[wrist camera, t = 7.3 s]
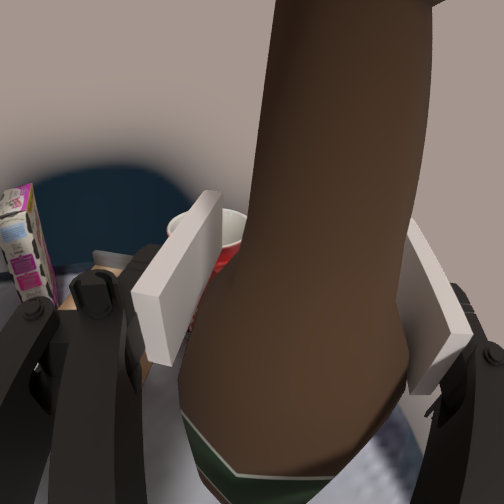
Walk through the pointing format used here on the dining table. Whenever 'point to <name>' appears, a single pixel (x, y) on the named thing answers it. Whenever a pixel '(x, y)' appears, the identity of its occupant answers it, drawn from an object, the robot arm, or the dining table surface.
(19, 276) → the candy bar box
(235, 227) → the mug
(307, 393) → the beer bottle
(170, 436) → the dining table surface
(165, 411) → the dining table surface
